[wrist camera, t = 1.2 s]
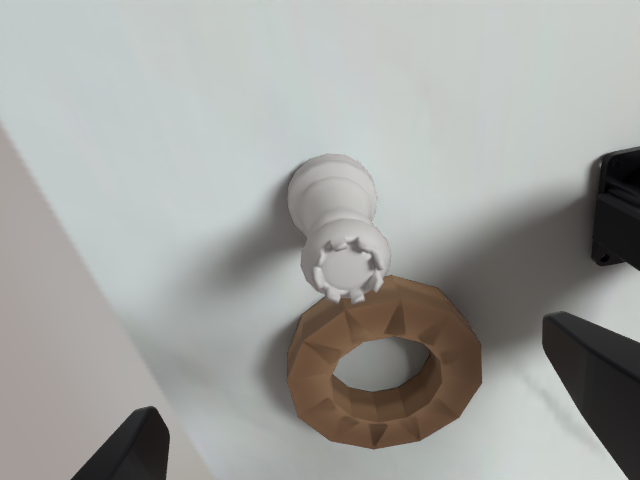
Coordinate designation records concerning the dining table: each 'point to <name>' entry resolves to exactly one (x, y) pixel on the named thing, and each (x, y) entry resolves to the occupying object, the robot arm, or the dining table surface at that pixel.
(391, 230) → the dining table surface
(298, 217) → the rook chess piece
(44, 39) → the dining table surface
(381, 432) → the walnut bead ring
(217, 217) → the dining table surface
